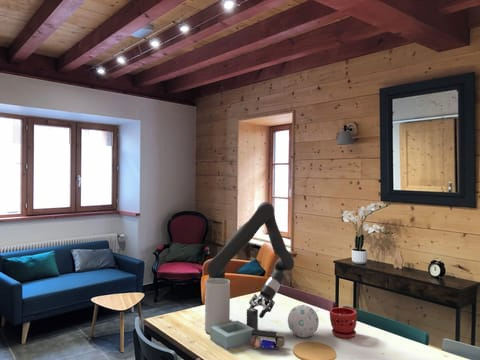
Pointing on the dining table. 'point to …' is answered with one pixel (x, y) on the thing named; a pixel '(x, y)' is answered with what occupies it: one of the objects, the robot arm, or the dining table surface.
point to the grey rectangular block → (252, 318)
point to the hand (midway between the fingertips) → (254, 315)
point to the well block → (231, 334)
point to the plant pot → (343, 322)
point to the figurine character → (266, 343)
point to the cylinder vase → (217, 302)
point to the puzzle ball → (303, 321)
